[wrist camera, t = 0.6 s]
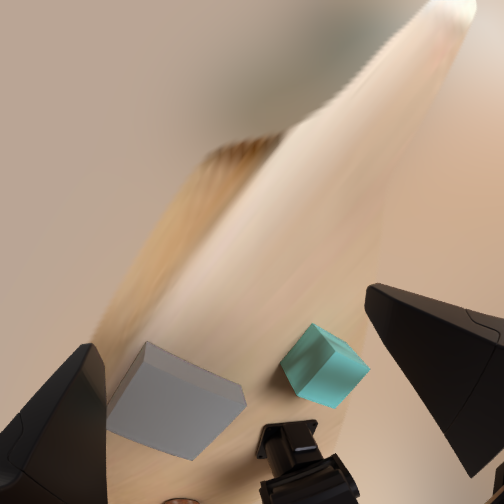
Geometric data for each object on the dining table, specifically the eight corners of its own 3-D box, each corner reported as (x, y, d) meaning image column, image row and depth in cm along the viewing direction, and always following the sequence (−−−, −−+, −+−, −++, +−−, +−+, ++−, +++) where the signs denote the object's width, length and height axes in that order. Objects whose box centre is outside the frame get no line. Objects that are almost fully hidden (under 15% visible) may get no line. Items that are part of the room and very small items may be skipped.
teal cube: (315, 378, 29) (334, 408, 24) (279, 362, 27) (296, 395, 23) (345, 342, 29) (370, 369, 24) (312, 322, 27) (335, 351, 22)
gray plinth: (190, 440, 28) (192, 460, 25) (106, 407, 25) (101, 427, 22) (240, 385, 27) (247, 405, 24) (146, 341, 24) (143, 361, 21)
